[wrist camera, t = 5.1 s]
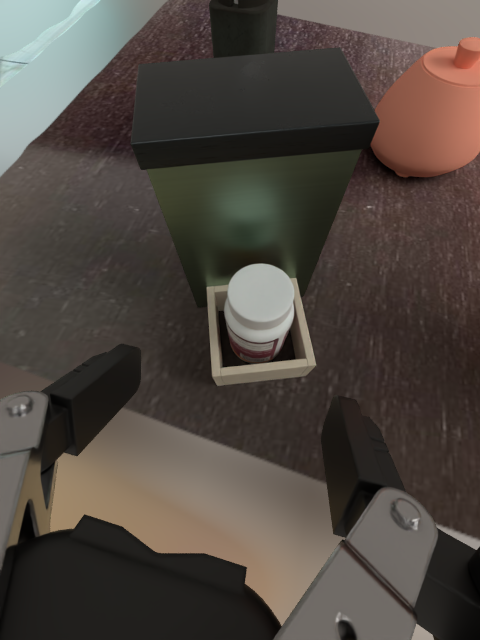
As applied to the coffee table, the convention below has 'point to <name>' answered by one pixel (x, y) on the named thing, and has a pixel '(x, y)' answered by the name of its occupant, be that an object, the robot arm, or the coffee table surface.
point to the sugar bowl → (432, 113)
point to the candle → (243, 27)
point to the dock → (263, 370)
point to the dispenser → (250, 157)
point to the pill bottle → (259, 312)
